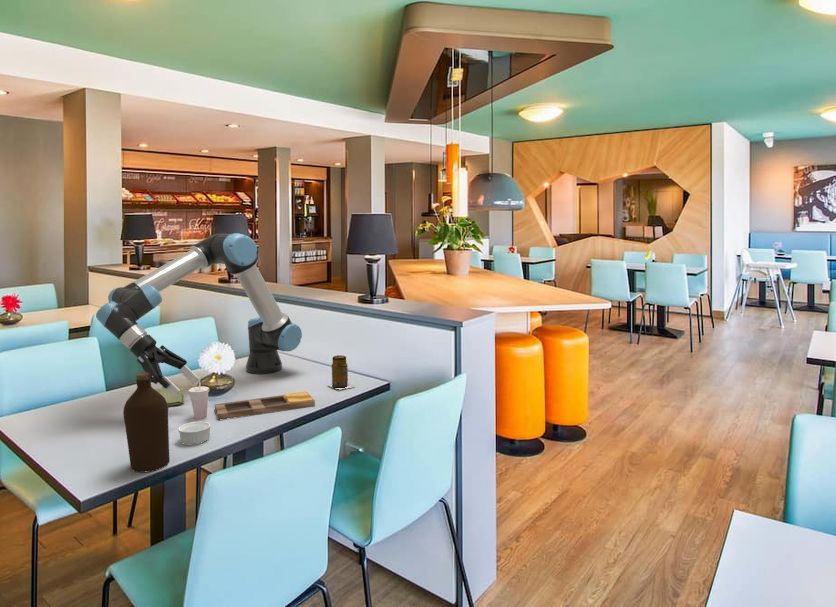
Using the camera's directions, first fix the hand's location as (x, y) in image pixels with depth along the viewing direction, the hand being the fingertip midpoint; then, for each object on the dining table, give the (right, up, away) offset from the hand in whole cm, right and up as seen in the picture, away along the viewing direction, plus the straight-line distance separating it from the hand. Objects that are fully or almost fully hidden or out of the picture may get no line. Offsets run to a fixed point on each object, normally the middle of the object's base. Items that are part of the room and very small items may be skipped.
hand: (187, 387), depth 184 cm
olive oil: (+4, -16, -34) cm, 37 cm away
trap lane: (+23, -9, +11) cm, 27 cm away
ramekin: (+9, -13, -17) cm, 24 cm away
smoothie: (+4, -10, +2) cm, 11 cm away
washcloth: (-16, -8, +20) cm, 27 cm away
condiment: (+45, -5, +35) cm, 58 cm away
